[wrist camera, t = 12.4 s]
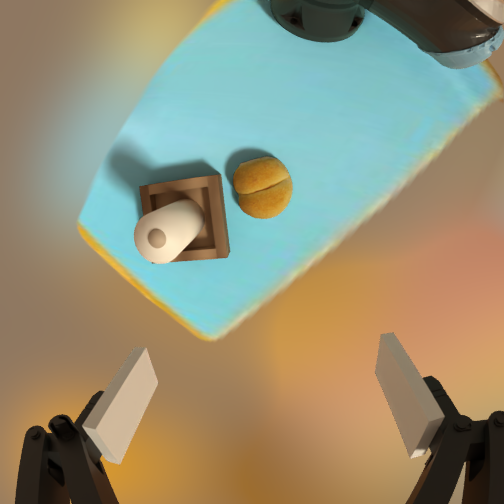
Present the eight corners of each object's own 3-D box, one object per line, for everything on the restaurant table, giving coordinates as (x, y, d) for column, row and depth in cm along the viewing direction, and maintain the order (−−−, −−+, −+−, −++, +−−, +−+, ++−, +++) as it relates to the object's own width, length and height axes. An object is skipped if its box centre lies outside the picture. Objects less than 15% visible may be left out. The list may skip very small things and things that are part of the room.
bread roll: (245, 223, 44) (243, 228, 40) (229, 166, 42) (225, 166, 38) (298, 209, 43) (301, 213, 39) (283, 151, 41) (284, 149, 37)
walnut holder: (221, 174, 42) (217, 174, 39) (230, 251, 45) (227, 257, 42) (147, 185, 43) (139, 186, 40) (159, 257, 46) (151, 263, 43)
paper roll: (202, 196, 42) (177, 209, 30) (207, 236, 44) (185, 262, 32) (165, 201, 42) (129, 215, 31) (170, 239, 44) (138, 265, 32)
